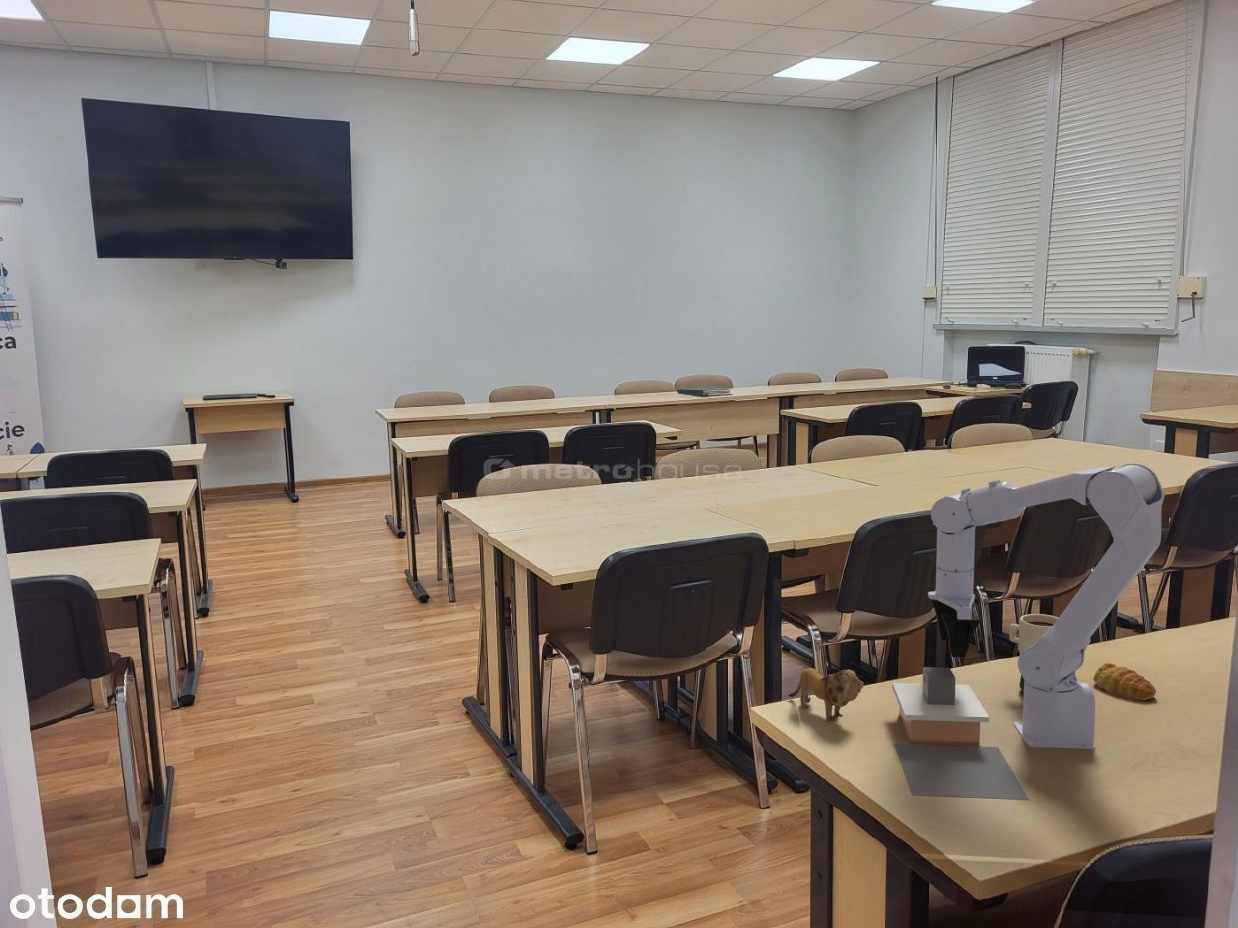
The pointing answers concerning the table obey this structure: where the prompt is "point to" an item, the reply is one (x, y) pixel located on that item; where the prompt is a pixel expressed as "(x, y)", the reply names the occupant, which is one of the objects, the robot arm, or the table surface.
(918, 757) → the mat
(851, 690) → the lion figurine
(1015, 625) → the character mug
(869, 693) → the table surface
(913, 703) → the lid
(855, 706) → the table surface
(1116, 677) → the pastry
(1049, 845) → the table surface
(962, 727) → the dish
